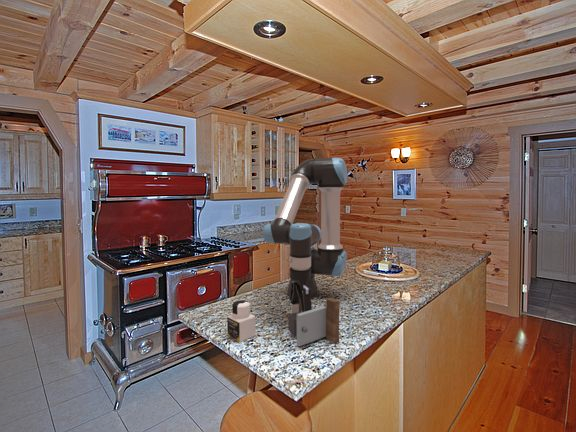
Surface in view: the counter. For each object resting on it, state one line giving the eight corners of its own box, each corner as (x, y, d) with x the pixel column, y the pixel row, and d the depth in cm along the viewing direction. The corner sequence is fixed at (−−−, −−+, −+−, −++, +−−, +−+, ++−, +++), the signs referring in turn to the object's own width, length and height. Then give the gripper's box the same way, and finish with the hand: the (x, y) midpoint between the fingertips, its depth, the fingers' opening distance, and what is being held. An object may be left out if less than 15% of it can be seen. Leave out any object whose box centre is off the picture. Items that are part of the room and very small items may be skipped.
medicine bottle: (227, 335, 112) (226, 302, 111) (243, 329, 117) (243, 297, 116) (239, 342, 107) (238, 307, 106) (256, 335, 112) (255, 302, 111)
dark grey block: (306, 327, 119) (306, 311, 118) (312, 334, 113) (312, 317, 113) (288, 329, 117) (288, 313, 116) (293, 337, 111) (293, 320, 110)
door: (296, 345, 104) (296, 312, 103) (326, 334, 112) (326, 303, 111) (302, 348, 102) (302, 315, 101) (332, 337, 110) (332, 305, 109)
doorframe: (298, 318, 127) (298, 283, 126) (339, 341, 107) (339, 300, 106) (293, 319, 125) (293, 284, 124) (333, 343, 106) (333, 302, 105)
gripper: (280, 260, 123) (280, 315, 126) (301, 278, 101) (300, 344, 104) (299, 258, 125) (299, 313, 128) (323, 275, 104) (322, 341, 106)
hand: (299, 327), depth 116 cm, fingers open, 10 cm apart
